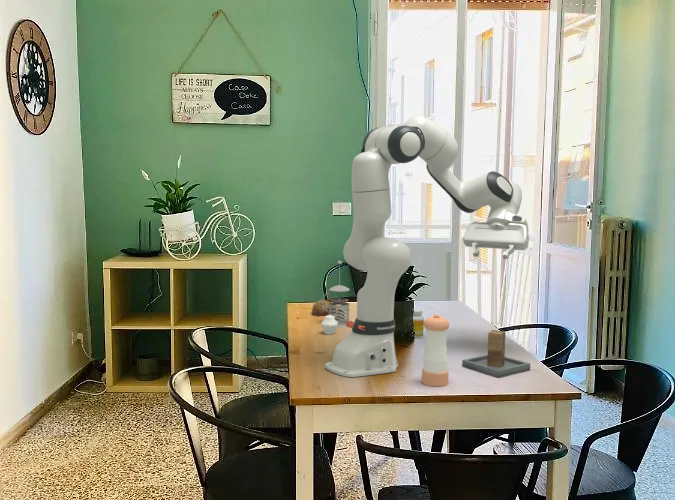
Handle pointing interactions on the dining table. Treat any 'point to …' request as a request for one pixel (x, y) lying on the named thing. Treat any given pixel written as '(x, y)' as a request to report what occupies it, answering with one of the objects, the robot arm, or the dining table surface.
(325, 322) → the muffin
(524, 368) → the tray
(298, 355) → the dining table surface
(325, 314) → the bread roll
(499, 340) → the walnut block
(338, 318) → the french press
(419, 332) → the supplement bottle
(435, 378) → the pepper shaker
